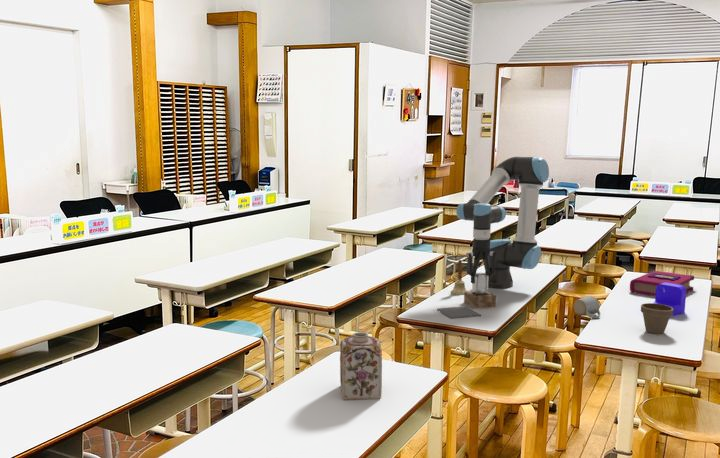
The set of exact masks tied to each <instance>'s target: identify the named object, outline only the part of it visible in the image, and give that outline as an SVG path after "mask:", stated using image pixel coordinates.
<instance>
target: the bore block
mask: <svg viewBox="0 0 720 458" xmlns="http://www.w3.org/2000/svg"><path fill="white" fill-rule="evenodd" d="M463 296H464V297H463V302H464V303H465V304H466V305H468V306H470V307H471V308H473V309H482V308H493V307H495V308H496V307H497V306H496V305H497V304H496V303H497V295H495V294H494V293H492V292H489V291H488V290H486V295H481V296H476V295H474V290H470V291H468V290H467V292H464V295H463Z"/></svg>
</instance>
